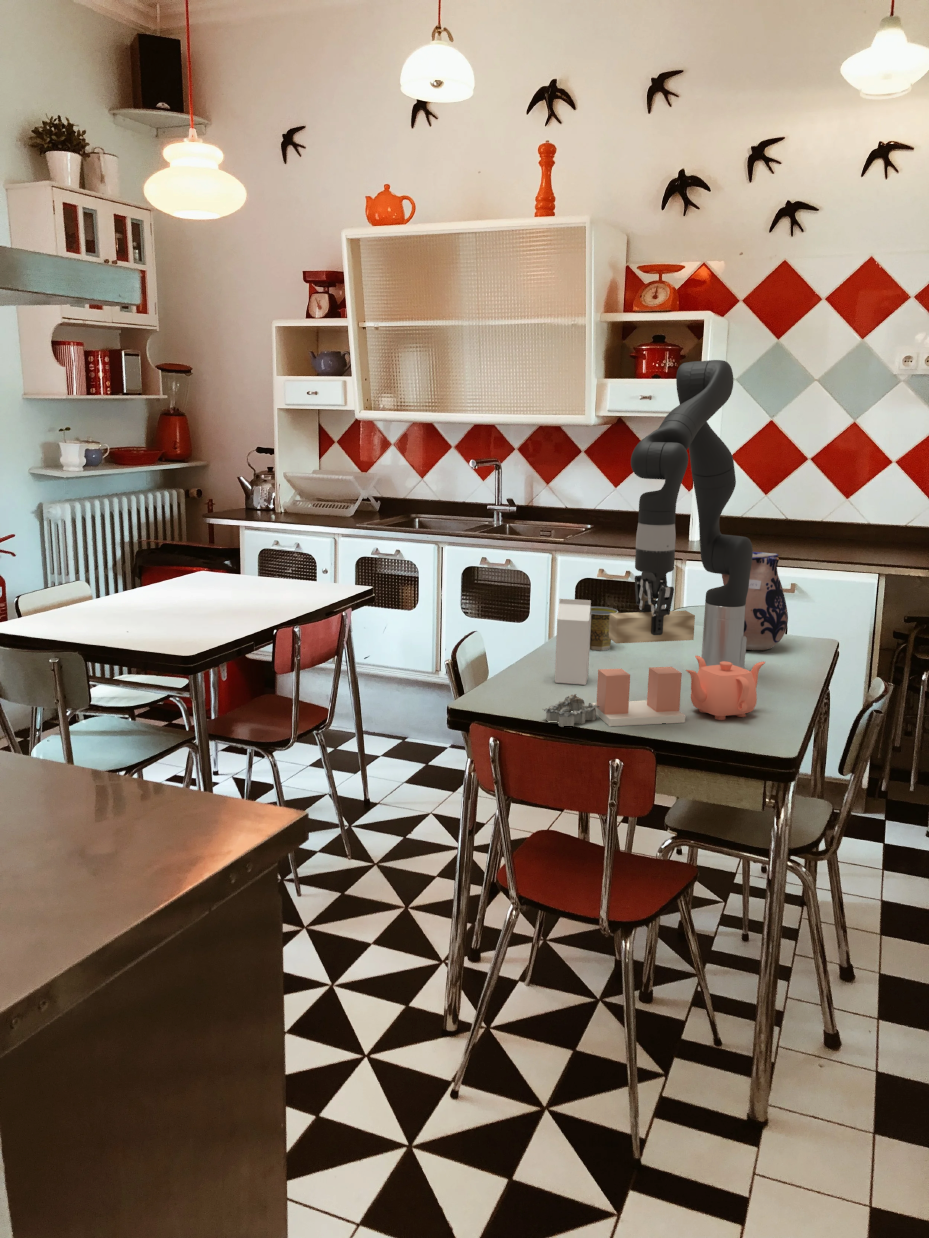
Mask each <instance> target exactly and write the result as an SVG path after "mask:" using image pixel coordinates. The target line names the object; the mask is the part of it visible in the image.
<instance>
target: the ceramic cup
mask: <svg viewBox="0 0 929 1238" xmlns="http://www.w3.org/2000/svg"><path fill="white" fill-rule="evenodd" d="M610 613H619V611H618V609H615V608H611V607H607V606H591V630H590V651H600V652H601V651H607V650H610V648H611V643H612V640H611V639H610V638H609V619H610Z"/></svg>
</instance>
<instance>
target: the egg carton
mask: <svg viewBox="0 0 929 1238" xmlns="http://www.w3.org/2000/svg"><path fill="white" fill-rule="evenodd" d="M596 707H599V706H597V705H596V704H595V705H594V706H593V705H592V702H589V703H588V704H587V705H586V704H585V700H584V699H583V698H581V697H579V696H577V693H574V694H570V695H568V696H566V697H565V698H564V700H561V701H558V703H555V704H552V705H550V706H548V707H545V708H542V709H541V710H542V711H543V712H545V714H546V717H545V721H546V720H547V721H557V722H559V723H558V726H559V727H561V728H564V726H573V727H574V726H575V724H580V723H581V724H585V723H586V721H589V720H590V721H596V719H597V715H596V709H595V708H596ZM571 711H573V712H571ZM581 724H580V725H581Z"/></svg>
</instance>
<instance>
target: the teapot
mask: <svg viewBox="0 0 929 1238" xmlns="http://www.w3.org/2000/svg"><path fill="white" fill-rule="evenodd" d="M695 659H696V660H697V662H698V671H697V672H696V671H695V670H692V669H691V670H690V669H686V670H685V671H686V672H687V673H688V675H690V679H691V682H690V691H691V692H690V700H691V704H692V706H693V707H695V708H697V709H698V712H699V713H704V714H705V713H707V714H710V715H712V716H714V719H715V720H717V721H718V720H719V721H725V720H726V716H736V717H737V718H747V713H748V714H749V713H751V712H753V711H754V709H755V707H756V706H757V702H758V701H757V699H758V697H757V695H758V694H757V686H758V682H759V680H758V679H759V673H760V669H761V668H762V667H763V665H764V664H766V661H759V662H756V663H755V664H753V666H752V668H751V670H748V669H747V668H744V669H743V668H741V667H738V666H735V665H732V663H731V662H726V661H723V662H720V665H712V666H706V663H705V661H704V659H703V658H702V657H701V656H699V655H695Z"/></svg>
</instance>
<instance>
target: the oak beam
mask: <svg viewBox="0 0 929 1238" xmlns="http://www.w3.org/2000/svg"><path fill="white" fill-rule="evenodd" d="M651 619H652V612H641V611H640V612H639V611H637V612H618V613H610V619H609V638H610V639H611V642H614V644H633V643H634V644H635V643H656V642H657V643H658V642H659V643H660V642H661V643H662V642H678V641H679V642H681V641H694V640H695V623H696V622H695V620H696V615H695V614H693V613H692V612H690V611H687V610H670V614H669V615H665V616H664V619H663V633H662V635H652V634H651Z"/></svg>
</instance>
